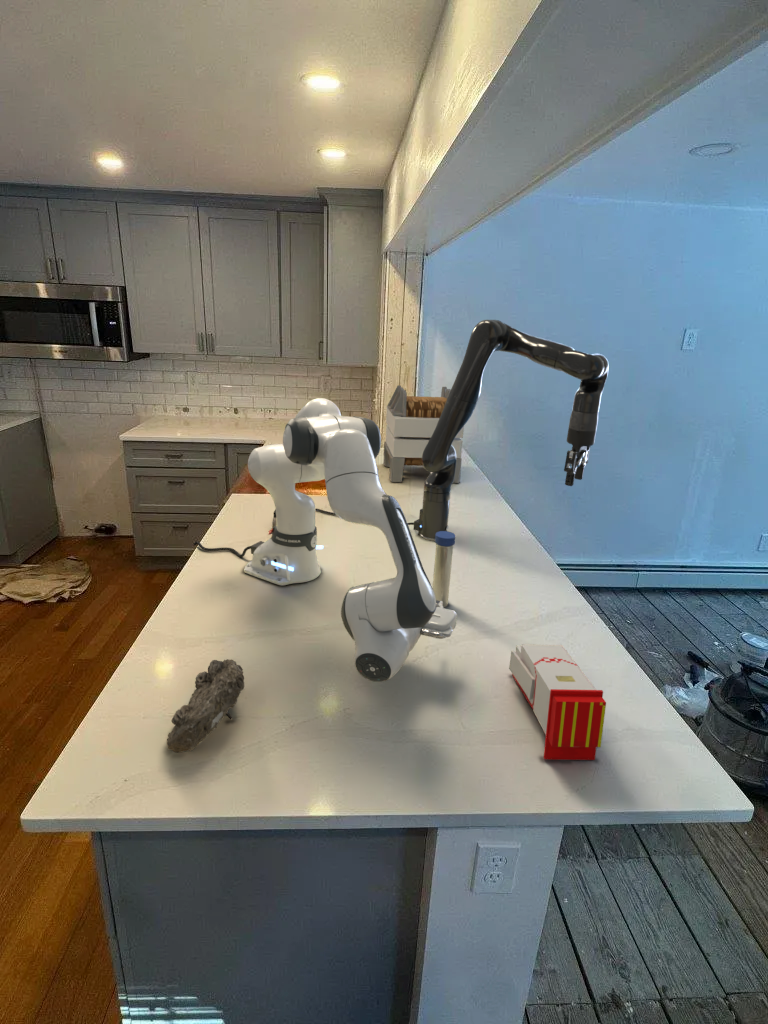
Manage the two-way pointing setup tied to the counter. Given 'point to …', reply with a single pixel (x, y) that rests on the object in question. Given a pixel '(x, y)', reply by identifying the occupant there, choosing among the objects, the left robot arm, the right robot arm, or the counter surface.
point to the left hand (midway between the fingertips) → (419, 599)
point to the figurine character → (274, 519)
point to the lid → (445, 538)
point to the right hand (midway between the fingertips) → (573, 482)
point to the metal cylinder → (442, 573)
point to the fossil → (206, 705)
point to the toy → (560, 700)
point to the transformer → (414, 431)
